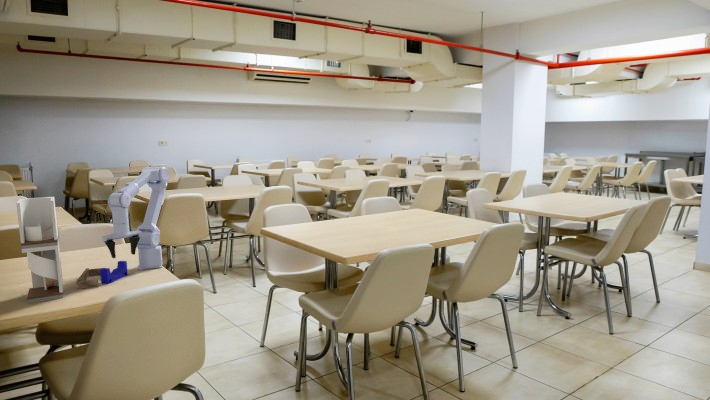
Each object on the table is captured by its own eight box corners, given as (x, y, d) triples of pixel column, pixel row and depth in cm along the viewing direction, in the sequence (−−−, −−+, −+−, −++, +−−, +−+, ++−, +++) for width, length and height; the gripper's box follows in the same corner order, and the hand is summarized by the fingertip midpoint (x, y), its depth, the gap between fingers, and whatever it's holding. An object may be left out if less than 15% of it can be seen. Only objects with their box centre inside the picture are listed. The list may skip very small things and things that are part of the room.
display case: (29, 293, 183) (19, 198, 177) (63, 288, 188) (54, 196, 183) (27, 303, 173) (16, 203, 168) (63, 297, 178) (53, 200, 173)
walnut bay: (105, 273, 207) (105, 266, 206) (97, 286, 190) (97, 279, 189) (86, 275, 205) (86, 268, 204) (77, 288, 188) (76, 280, 187)
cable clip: (117, 274, 205) (116, 260, 205) (127, 275, 205) (126, 261, 204) (97, 283, 194) (96, 268, 193) (108, 284, 193) (106, 269, 192)
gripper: (135, 219, 207) (137, 250, 209) (98, 224, 197) (100, 257, 199) (142, 221, 202) (144, 253, 204) (104, 226, 192) (107, 260, 194)
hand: (123, 255), depth 201 cm, fingers open, 7 cm apart
